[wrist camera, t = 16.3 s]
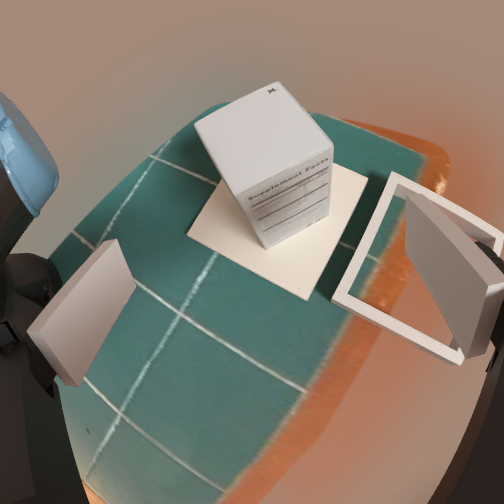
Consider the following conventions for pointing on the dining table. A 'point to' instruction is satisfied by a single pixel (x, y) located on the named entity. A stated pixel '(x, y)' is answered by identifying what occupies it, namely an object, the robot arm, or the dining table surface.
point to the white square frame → (340, 298)
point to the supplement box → (271, 161)
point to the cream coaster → (288, 251)
